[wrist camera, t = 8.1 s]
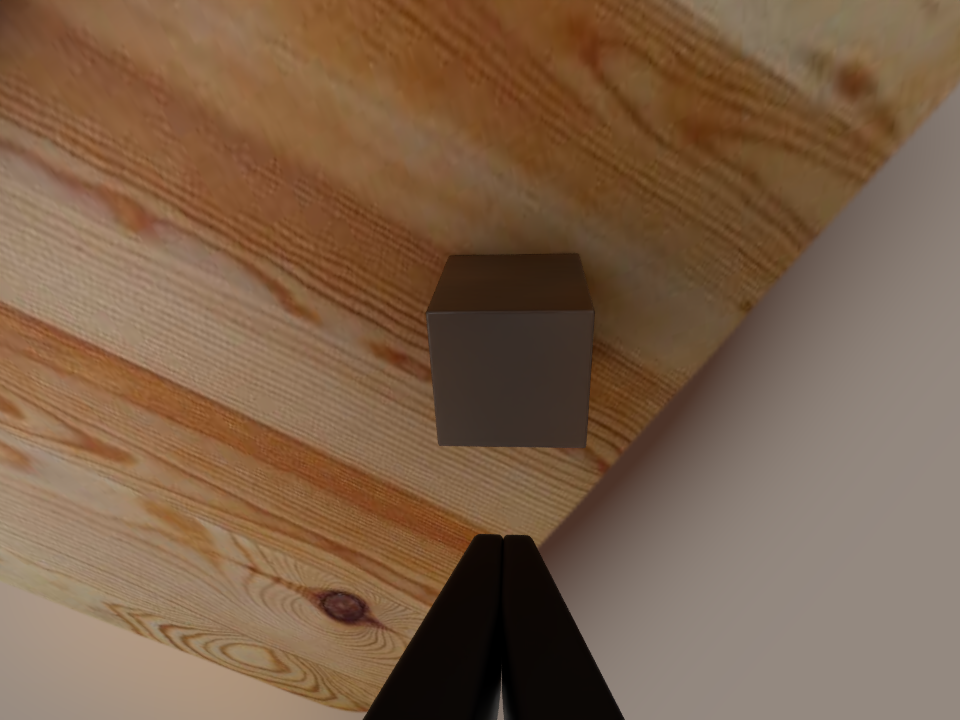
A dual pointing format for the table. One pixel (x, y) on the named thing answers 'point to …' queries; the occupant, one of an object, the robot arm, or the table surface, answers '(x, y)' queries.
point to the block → (511, 351)
